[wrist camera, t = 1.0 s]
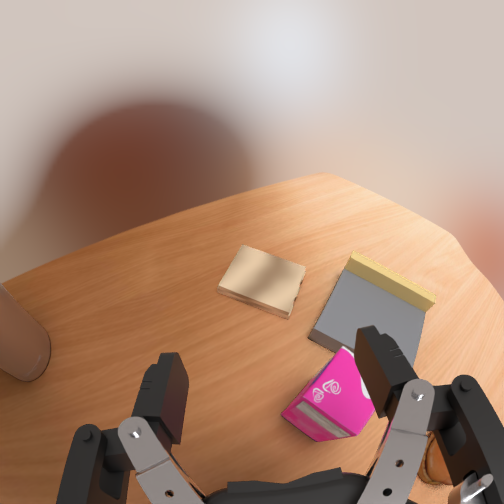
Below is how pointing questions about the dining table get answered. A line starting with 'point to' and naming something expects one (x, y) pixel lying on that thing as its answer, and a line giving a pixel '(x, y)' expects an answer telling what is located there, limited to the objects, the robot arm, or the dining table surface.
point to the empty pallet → (263, 281)
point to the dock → (373, 307)
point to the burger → (433, 464)
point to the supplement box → (332, 401)
